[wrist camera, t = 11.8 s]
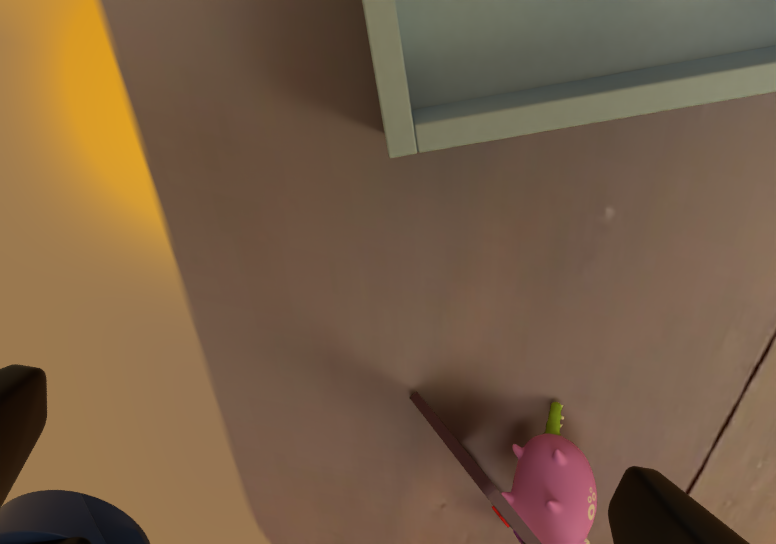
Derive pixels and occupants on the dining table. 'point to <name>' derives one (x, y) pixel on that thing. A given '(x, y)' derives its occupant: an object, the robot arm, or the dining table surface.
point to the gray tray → (557, 63)
